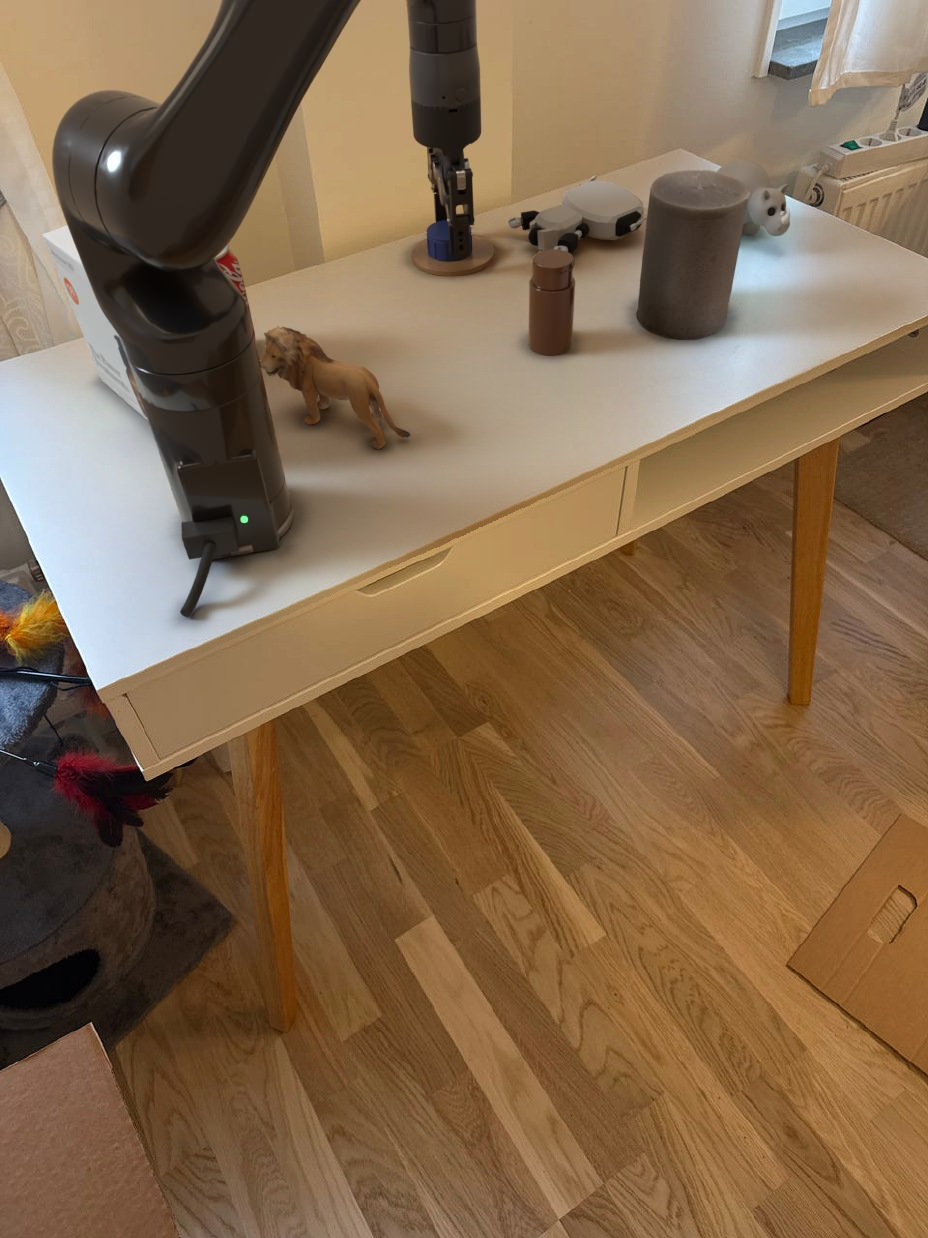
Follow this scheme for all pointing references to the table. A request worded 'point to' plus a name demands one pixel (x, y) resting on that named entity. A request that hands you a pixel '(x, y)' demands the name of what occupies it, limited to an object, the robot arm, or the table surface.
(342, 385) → the lion figurine
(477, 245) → the coaster
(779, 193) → the toy rhinoceros
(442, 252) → the lid
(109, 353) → the skincare box
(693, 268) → the pillar candle
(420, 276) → the table surface
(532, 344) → the jar
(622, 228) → the robot toy
